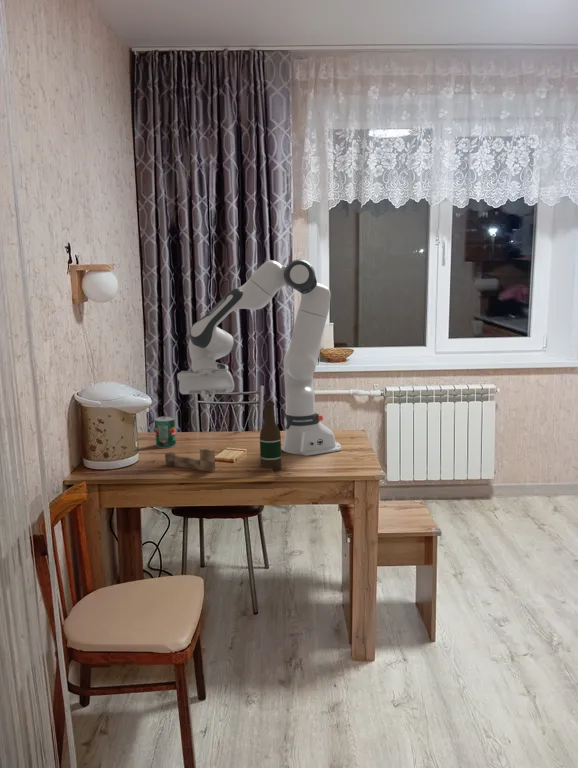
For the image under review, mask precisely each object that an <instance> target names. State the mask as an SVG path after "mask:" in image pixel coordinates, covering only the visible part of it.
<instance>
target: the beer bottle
mask: <svg viewBox="0 0 578 768" xmlns="http://www.w3.org/2000/svg"><path fill="white" fill-rule="evenodd" d="M263 405H264V423H263V426H262V427H261V429H260V432H259V433H260V434H259V455H260V468H264V469H272V471H273V472H274V473H276V472H279V471H281V470H282V441H281V440H282V438H281V431H280V428H279V426H278V425H277V423H276V416H275V401H274V400H273V401H272V400H269V401H265V402H264V404H263Z"/></svg>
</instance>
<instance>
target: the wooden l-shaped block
mask: <svg viewBox="0 0 578 768" xmlns="http://www.w3.org/2000/svg"><path fill="white" fill-rule="evenodd" d="M215 456H216V455H215V449H214V448H213V449H212V448H205V447H201V448H199V458H195V457H189V456H183V455H176V452H166V453H164V460H165V461H164V462H165V467H178V468H179V467H180V468H184V469H185V468H186V469H191V470H199V471H203V472H210V473H213V472H216V460H215V458H216V457H215Z"/></svg>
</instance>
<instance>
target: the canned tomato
mask: <svg viewBox="0 0 578 768" xmlns="http://www.w3.org/2000/svg"><path fill="white" fill-rule="evenodd" d="M154 429H155V431H154V432H155V446H156V448H159V449H168V448H173V447H175V446H177V438H176V419H175V416H171V415H169V416H167V415H166V416H165V415H164V416H158V417H154Z"/></svg>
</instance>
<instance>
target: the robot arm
mask: <svg viewBox="0 0 578 768" xmlns="http://www.w3.org/2000/svg"><path fill="white" fill-rule="evenodd" d="M285 286H289V287H290V289H291V288H292V290H296V291H297V292H299V294H300V303H299V307H298V310H297V314H296V316H295V321H294V325H293V329H292V334H291V339H290V344H289V345H290V346H289V349H288V350H287V351H286V352H285V354H284V356H283V378H284V393H285V396H284V397H285V413H284V428H285V434H284V442H283V444H282V445H283V446H282V447H281V450H282V451H283V452H285V453H288V454H293V455H294V454H295V455H302V456H305V457H306V456H313V455H314V456H315V455H320V454H328V453H333V452H340V451H341V450H342V445H341V444H340V442H338V441H336V438H335V434H334V432H333V431H332V430H331V429H330V428H329V427H327V426H326V425H325V424H323V423H322V421H323V420H324V415H322V414H319V413H317V412H316V410H315V408H316V407H315V405H316V404H315V401H316V400H315V399H316V398H315V387H314V373H315V371H316V367H317V363H318V359H319V358H318V357H319V355H320V353H319V352H320V350H321V349H320V348H321V342H322V338H323V335H324V334H323V333H324V330H325V327H326V323H327V319H328V315H329V311H330V306H331V295H332V294H331V290H330V289H329V287H328V286H326V285H324V284H322V283H319V282H318V281H317V277H316V271H315V269H314V267H313V264H311V263H310V261H307V260H305V259H299V258H298V259H295V260H291V262H289V263H288V264H287V265H283V264H281V263H280V262H278V261H277V260H274V259H273V260H272V259H269V260H266V261H264V263H263V264H261V266H260V267H258V268H257V270H255V272H254V273H252V275H251V276H250V277H249V278H248V280H246V282H245V283H244V284H243V285H241V286H240V287H236V288H233V289H232V290H230V291H229V292H227V293H226V294H225V295H224V296H223V297H222V298H221V299H220V300H219V301H218V302H217V303H216V304H215V305H213V307H212V308H211V309H210V310H208V312H207V313H205V315H204V316H203V317H201V318H200V319H198V320H197V321H196V322H194V323H193V324H192V326H191V327H190V331H189V337H190V338H189V340H188V341H189V342H188V349H189V350H188V351H189V357H190V360H191V370H181V371H180V372H178V373H177V375H176V377H177V380H178V382H179V384H178V385H179V389H178V390H179V393H180V394H181V395H198V394H199V395H200V397H201V398H202V399H203V400H204V403H205V404H214V400H215V399H214V396H215V394H225V393H226V394H230V393H232V392H234V390H235V382H234V378H233V376H232V373H231V372H230V371H229V366H228V365H227V364H224V363H220V362H218V361H217V360H219V359H222V358H224V357H226V356H228V355H230V354H231V352H232V351H233V349H234V346H235V339H234V336H232V334H230V333H229V332H227V331H226V330H224V329H223V328H222V329H221V327H219V324H221V323H222V322H223V321H224V320H225V318H227V316H228V315H230V314H231V313H232V312H233V311H236V310H239V309H240V310H242V309H243V310H244V309H245V310H250V311H251V310H253V311H254V310H255V311H257V310H261V309H263V308H265V307H266V306H267V305H268V304H269V303H270V302H271V301H272V299H273V298H274V297H275V295H276V294H277V293H278V292H279V290H280V289H281V288H282V287H285ZM216 361H217V362H216ZM206 394H210V396H207V395H206Z"/></svg>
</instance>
